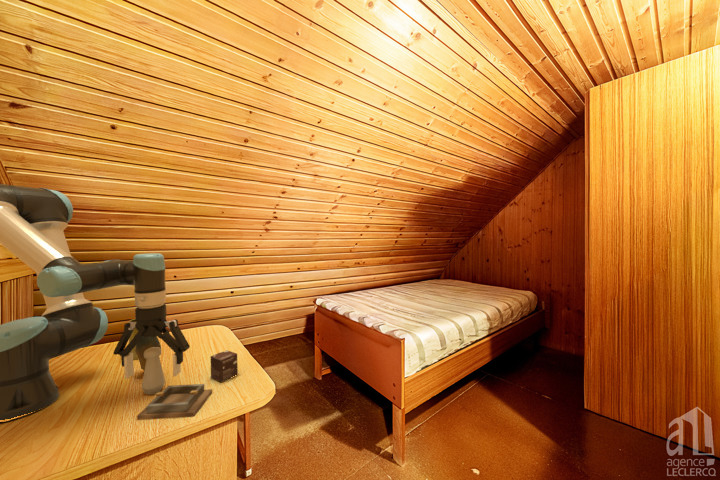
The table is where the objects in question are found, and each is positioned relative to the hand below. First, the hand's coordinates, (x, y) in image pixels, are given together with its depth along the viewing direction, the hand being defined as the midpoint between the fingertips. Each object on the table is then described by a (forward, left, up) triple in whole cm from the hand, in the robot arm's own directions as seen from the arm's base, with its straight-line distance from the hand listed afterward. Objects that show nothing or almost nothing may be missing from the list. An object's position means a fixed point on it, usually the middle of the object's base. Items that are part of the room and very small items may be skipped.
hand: (153, 375), depth 87 cm
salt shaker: (0, 0, -5) cm, 5 cm away
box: (+18, +7, -5) cm, 20 cm away
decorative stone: (-8, +11, -5) cm, 15 cm away
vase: (-21, +26, -5) cm, 34 cm away
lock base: (+11, -8, -5) cm, 14 cm away
